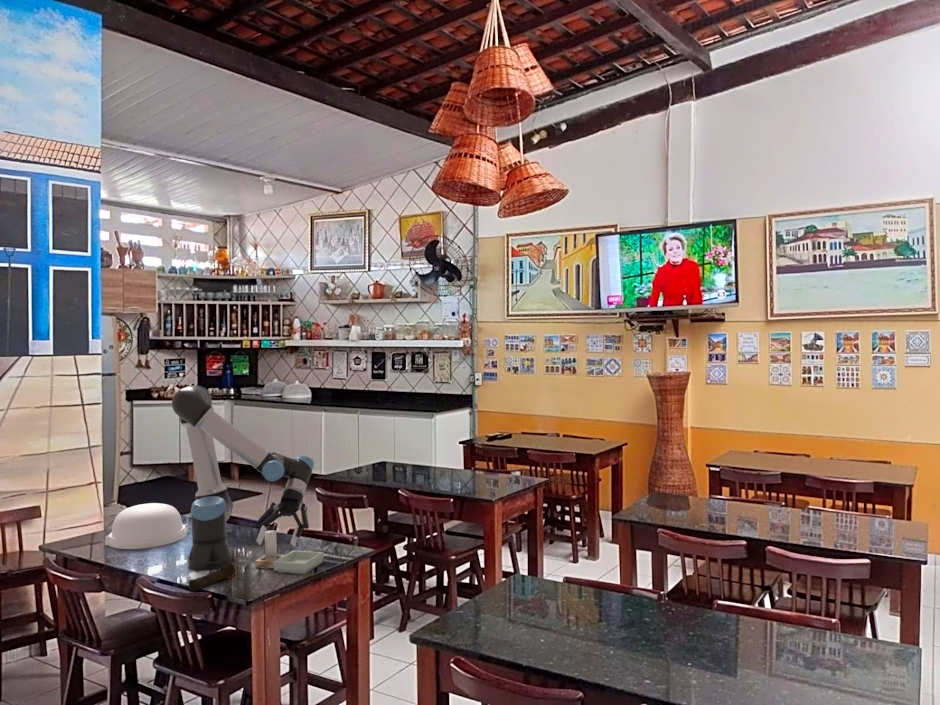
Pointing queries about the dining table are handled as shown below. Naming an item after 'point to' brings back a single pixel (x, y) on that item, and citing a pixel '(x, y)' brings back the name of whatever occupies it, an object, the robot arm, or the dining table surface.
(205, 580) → the hand tool
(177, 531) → the dome cover
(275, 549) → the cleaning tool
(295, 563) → the tray
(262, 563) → the slotted holder
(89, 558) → the dining table surface
